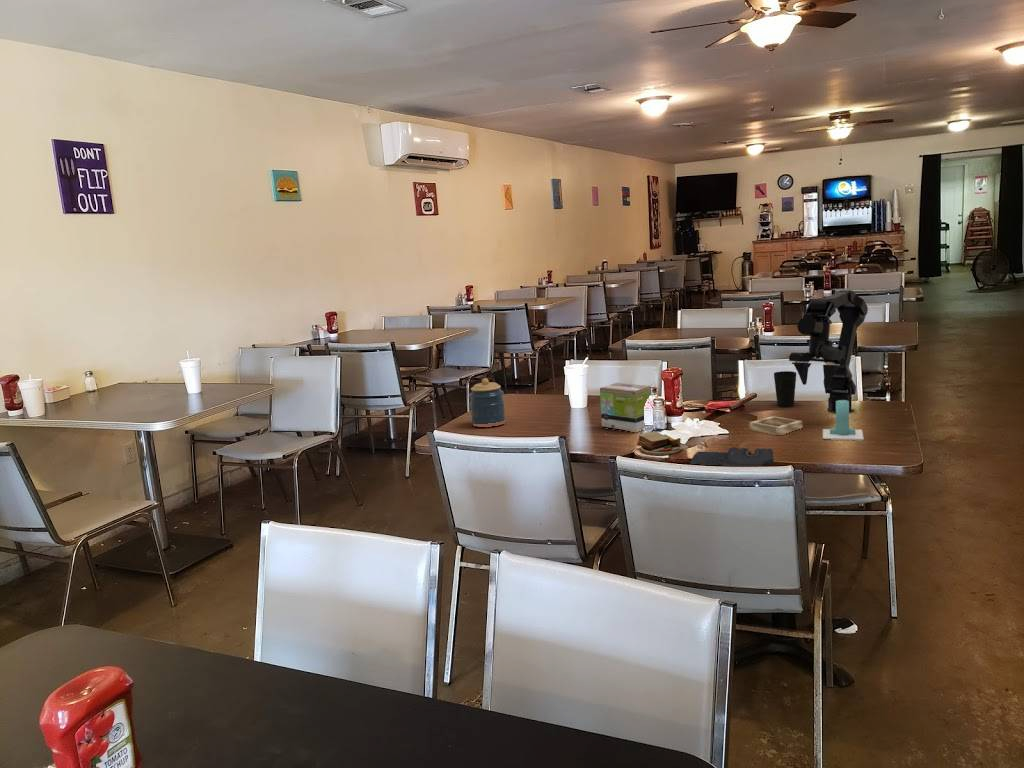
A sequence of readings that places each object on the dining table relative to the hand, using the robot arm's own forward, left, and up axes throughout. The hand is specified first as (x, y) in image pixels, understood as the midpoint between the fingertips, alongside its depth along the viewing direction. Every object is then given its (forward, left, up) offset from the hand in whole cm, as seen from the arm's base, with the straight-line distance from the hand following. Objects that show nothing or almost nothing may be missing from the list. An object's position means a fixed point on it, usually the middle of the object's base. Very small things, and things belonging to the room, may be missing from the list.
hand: (815, 385), depth 243 cm
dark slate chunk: (+42, +35, -13) cm, 56 cm away
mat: (+1, +18, -12) cm, 22 cm away
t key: (+1, +18, -12) cm, 22 cm away
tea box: (+58, -19, -13) cm, 62 cm away
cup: (-3, -28, -13) cm, 31 cm away
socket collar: (+15, +3, -12) cm, 20 cm away
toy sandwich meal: (+56, +13, -13) cm, 59 cm away
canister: (+104, -46, -13) cm, 114 cm away
